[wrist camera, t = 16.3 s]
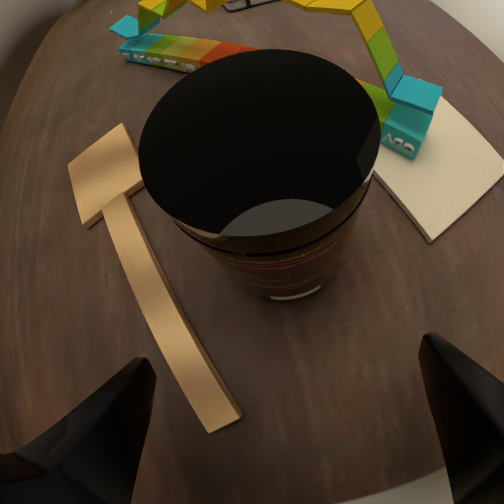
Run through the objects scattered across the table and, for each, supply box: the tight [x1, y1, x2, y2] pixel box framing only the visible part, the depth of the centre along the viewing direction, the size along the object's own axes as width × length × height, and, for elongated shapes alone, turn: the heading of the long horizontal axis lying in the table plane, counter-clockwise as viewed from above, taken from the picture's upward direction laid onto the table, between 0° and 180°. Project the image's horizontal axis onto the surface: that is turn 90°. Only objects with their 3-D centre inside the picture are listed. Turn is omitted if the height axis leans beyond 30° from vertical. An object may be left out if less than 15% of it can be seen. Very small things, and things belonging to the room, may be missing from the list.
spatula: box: [68, 123, 243, 433], centre depth 18 cm, size 23×6×1 cm, turn 31°
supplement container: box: [138, 49, 381, 302], centre depth 13 cm, size 7×7×10 cm
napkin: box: [373, 79, 504, 243], centre depth 17 cm, size 10×10×1 cm
